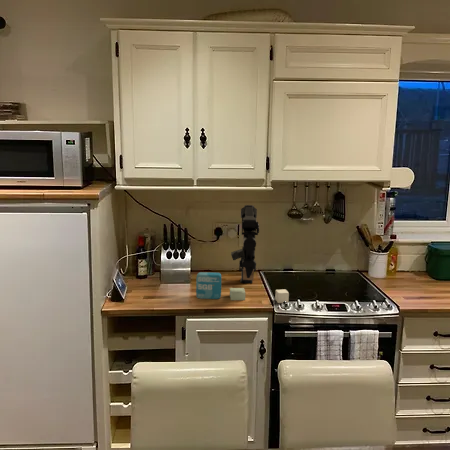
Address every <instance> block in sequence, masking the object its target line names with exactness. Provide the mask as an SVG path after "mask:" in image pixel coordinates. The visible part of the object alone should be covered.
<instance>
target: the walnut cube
mask: <svg viewBox="0 0 450 450" xmlns="http://www.w3.org/2000/svg"><path fill="white" fill-rule="evenodd" d="M254 277H255V272H254V269H253V271H252V273H251V276H250V278H247V274H246V269H245V267H243V280H253V281H254V280H255V279H254Z"/></svg>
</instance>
